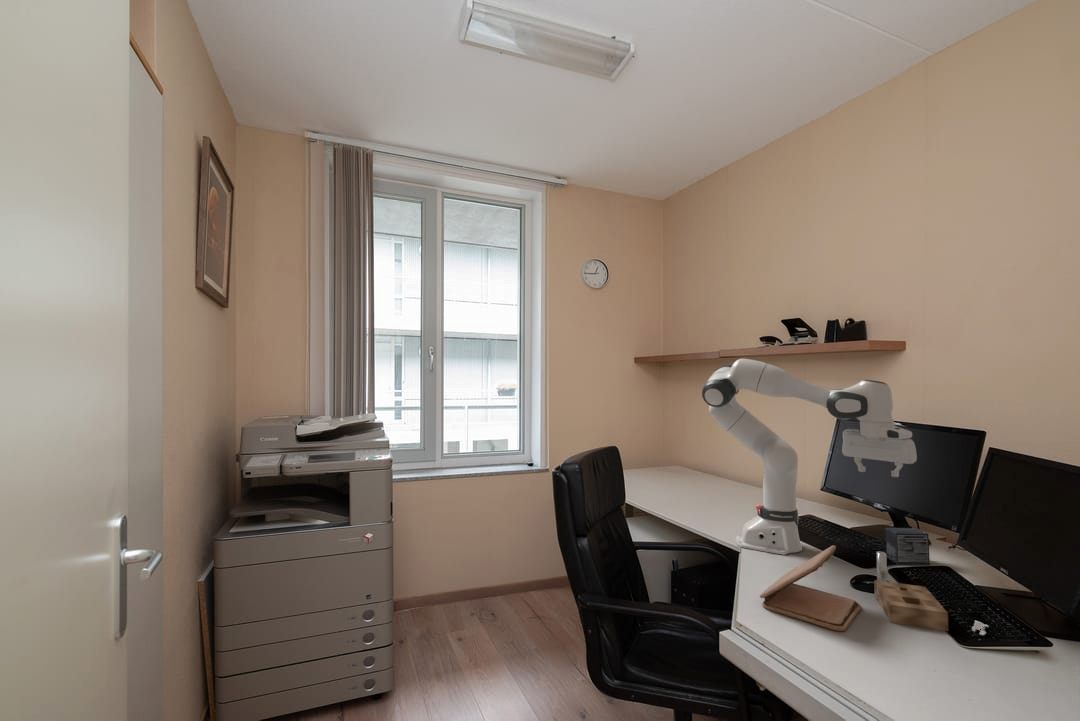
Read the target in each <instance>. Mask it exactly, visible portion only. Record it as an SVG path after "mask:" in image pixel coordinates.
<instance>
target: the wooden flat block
mask: <svg viewBox="0 0 1080 721" xmlns="http://www.w3.org/2000/svg"><path fill="white" fill-rule="evenodd" d="M873 583H874V587H873V588H874V597H875V599H876V601H877V602H878V604H879V606H880V607H881V609H882V611H883V613H884V614H885V616H886V618H887V619H888V621H889V622H890V623H894V624H900V625H904V626H905V625H906V626H911V627H912V626H913V627H918V628H927V629H931V630H938V631H939V630H940V631H944V632H949V613H948V611H947V610H946V609H945V608H944V607H943V605H941V603H940V602H939V601H938V600H937V598H936V597H935V596H934V595H933V594H932V593H931V592H930V590H929V589H928V588H927V587H926V586H922V585H914V584H907V583H898V582H891V581H887V582H885V581H877V579H875V580H873Z"/></svg>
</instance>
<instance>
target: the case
mask: <svg viewBox="0 0 1080 721" xmlns="http://www.w3.org/2000/svg"><path fill="white" fill-rule="evenodd" d="M836 549H837V546H836V545H830V547H827V548H826V549H824V550H823V551H821V552H819V553H818V554H816V555H815V556H813V557H811V558H810V559H808V560H806V561H804V562H803V563H801V564H800V565H798V566H797V567H795V568H793V569H792V570H790V571H788V572H787V573H785V574H784V575H782V576H781V577H779V579H777V580H776V581H775V582H774V583H772V584H771V585H770V586H769V587H767V588H766V589H765V590H763V592H761V593H760V595H759V598H760V599H763V601H762V603H761V605H762V608H764V609H765V610H769V611H771V612H775V613H778V614H781V615H785V616H787V617H791V618H793V619H798V620H801V621H804V622H806V623H810V624H813V625H816V626H819V627H822V628H825V629H829V630H832V631H835V632H844V631H847V629H848V628H849V626H850V625H851V623H852V622H853V620H854V619H855V618H856V616H857V615H858V614H859V612H860V611H861V610H862V606H861V604H860V603H858V602H857V601H855V600H853V599H850V598H848V597H844V596H841V595H837V594H833V593H829V592H825V591H823V590H819V589H816V588H812V587H808V586H805V585H801V584H797V583H796V582H798V581H800V580H802V578H806V577H807V576H808V575H810V574H812V573H814V572H816V571H818V570H819V569H820V568H822V567H823V565H824V563H825V562H828V560H829V559H831V557H832V556H833V555H834V553H835V551H836Z"/></svg>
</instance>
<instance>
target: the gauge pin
mask: <svg viewBox="0 0 1080 721" xmlns="http://www.w3.org/2000/svg"><path fill="white" fill-rule="evenodd" d="M887 561H888V560H887V552H886V551H885V552H884V551H880V550H879V551H876V580H877V581H885V582H888V569H887V564H888V563H887Z"/></svg>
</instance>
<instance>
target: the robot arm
mask: <svg viewBox="0 0 1080 721" xmlns="http://www.w3.org/2000/svg"><path fill="white" fill-rule="evenodd" d="M743 389H744V390H745V389H746V390H750V391H752V392H755V393H758V394H761V395H764V396H768V397H774V398H795V399H796V398H797V399H800V400H804V401H807V402H810V403H814V404H816V405H819V406H822V407H824V408H825V409H827V411H828V413H829V414H830V415H831V416H833V417H834V418H836V419H838V420H850V419H855V418H856V419H857V418H858V419H859V427H860V428H847V429H844V430H843V431H842V439H843V441H842V446H841V453H842V454H843V456H844V457H849V458H850V457H851V458H853V461H854V463H855V464H856V466H857V469H858V470H857V471H858V472H860V473H865V472H867V470H866V468H867V467H866V466H867V465H866V466H864V464H863V463H862V461H863V459H864V460H865V459H866V460H875V461H882V462H888V463H889V462H890V463H894V466H895V469H893V470H890V473H891V474H890V476H891V477H893V478H899V477H900V470H902V468H903V467H904V464H907V465H912V464H915V463H916V462H917V461H918V460H917V459H918V455H917V454H918V453H917V448H916V444H915V442H914V440H913V439H912V437H913V432H912V431H911V430H908V429H905V428H902V427H899V426H896V425H895V424H894V419H893V416H892V412H893V409H894V407H893V406H894V405H893V404H894V402H893V393H892V390H891V389H892V388H891V387H890V385H888V383H885V382H883V381H879V380H873V379H872V380H871V379H862V380H861V381H859V382H858V383H856V384H853V385H851V386H849V387H846V388H836V389H834V388H833V389H832V388H827V387H824V386H821V385H816V384H814V383H811V382H807V381H805V380H802V379H800V378H799V377H797V376H795V375H793V374H792V373H790V372H789V371H786V370H785V369H783V368H781V367H779V366H776V365H773V364H770V363H766V362H764V361H760V360H757V359H756V360H755V359H751V358H750V359H749V358H739V359H737V360H735V362H734V363H733V364H725V365H722V366H720V367H718V368H717V369H716V370H715V371H714V372H713V373H712V374H711V375H710V376H709V378H708V380H706V382H705V383H704V385H703V387H702V390H701V397H702V399H703V401H704V402H705V403H706V405H708V413H709V415H710V416H711V417H712V418H713V419H714V421H716V423H717V424H718V425H719V426H720V427H721V428H722V429H723V430H725V431H726V432H727V433H728V434H729V435H730V436H732V437H733V438H734V439H735V440H736V441H737V442H739V443H740V444H741V445H742V446H744V447H745V448H746V449H748V450H749V451H751V453H753V454H754V455H755V456H757V457H758V458H759V459H760V460H761V461H763V482H762V497H763V498H762V500H763V501H762V503H763V504H762V505H761V504H756V506H755V508H756V511H757V512H756V513H757V515H756V516H755V517H753V518H751V519H749V520H748V521H746V522H745V523H744V525H743V527H742V530H741V533H739V534H737V535H736V537H735V543H736V545H737V546H739V548H740V547H741V548H745V549H749V550H755V551H760V552H761V551H762V552H767V553H771V554H778V555H783V556H784V555H788V554H794V553H799V552H801V551H802V550H803V547H802V544H801V540H800V535H799V530H798V528H799V527H798V525H799V512H798V511H799V510H798V508H797V479H798V463H799V461H798V460H799V458H798V454H797V451H796V449H794V448H793V447H792V446H791V445H790V444H789V443H788V442H786V441H785V440H784V439H783V438H782V437H780V435H778V434H776V433H775V431H773V430H772V429H770V428H769V427H768V426H767V425H766V424H764V423H763V422H762V421H761V420H760V419H758V418H757V417H756V416H755V415H753V414H752V413H751V412H750V411H749V410H747V409H746V408H745V407H744V406H742V405H741V403H739V402H738V401H737V400H736V395H738V393H739V391H740V390H743Z"/></svg>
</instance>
